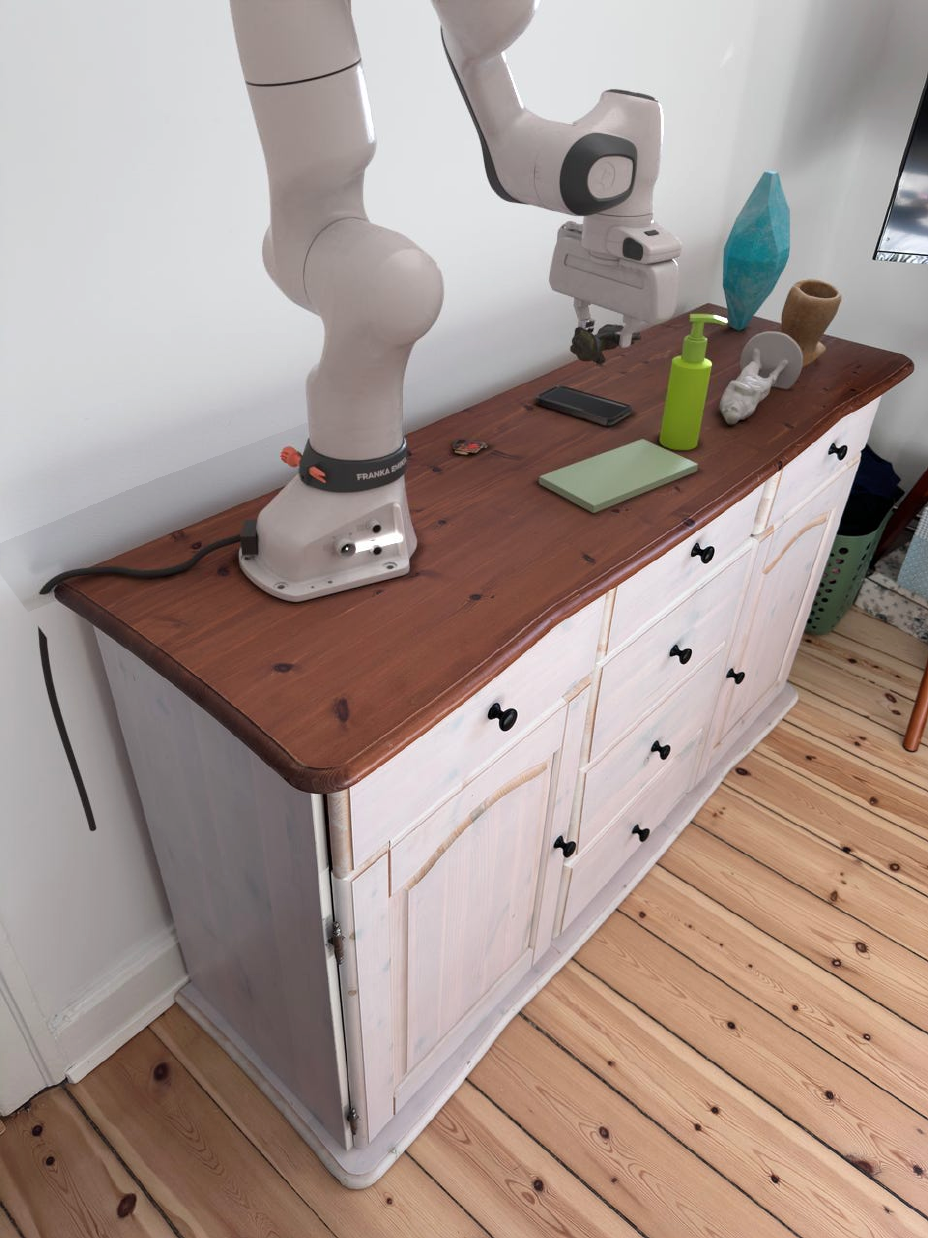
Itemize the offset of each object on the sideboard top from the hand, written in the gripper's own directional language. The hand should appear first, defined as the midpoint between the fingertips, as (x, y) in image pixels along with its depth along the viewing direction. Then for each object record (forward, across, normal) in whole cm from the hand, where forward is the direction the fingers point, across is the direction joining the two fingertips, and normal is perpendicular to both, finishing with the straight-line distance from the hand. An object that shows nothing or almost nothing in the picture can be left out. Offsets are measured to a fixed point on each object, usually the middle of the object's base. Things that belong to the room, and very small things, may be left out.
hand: (603, 338), depth 128 cm
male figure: (+19, -1, +40) cm, 44 cm away
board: (+19, +6, +1) cm, 20 cm away
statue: (+3, 0, 0) cm, 3 cm away
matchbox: (+19, -15, -11) cm, 27 cm away
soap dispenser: (+19, +3, +18) cm, 26 cm away
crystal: (+19, -27, +74) cm, 81 cm away
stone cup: (+19, -8, +66) cm, 69 cm away
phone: (+19, -16, +15) cm, 29 cm away
